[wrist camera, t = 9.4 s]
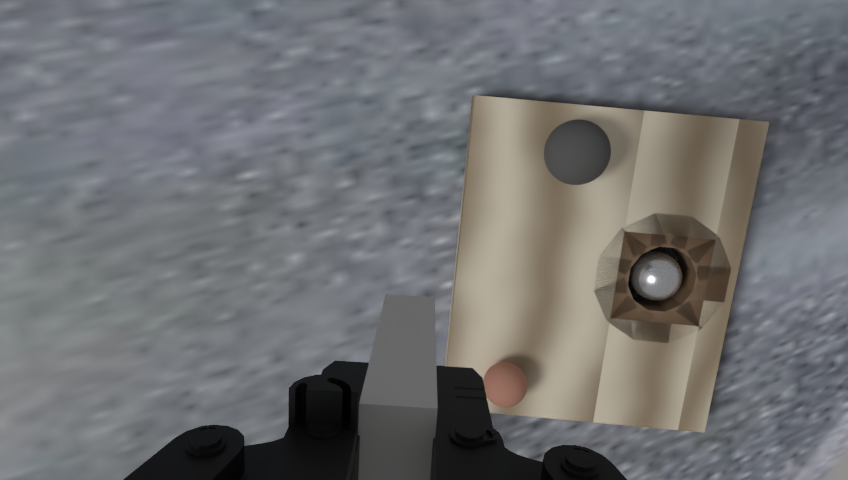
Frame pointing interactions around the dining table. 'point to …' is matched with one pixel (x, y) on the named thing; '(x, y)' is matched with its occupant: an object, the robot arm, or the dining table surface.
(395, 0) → the dining table surface
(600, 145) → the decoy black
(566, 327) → the board
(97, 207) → the dining table surface
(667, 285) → the steel ball
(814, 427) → the dining table surface
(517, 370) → the pink rubber ball
